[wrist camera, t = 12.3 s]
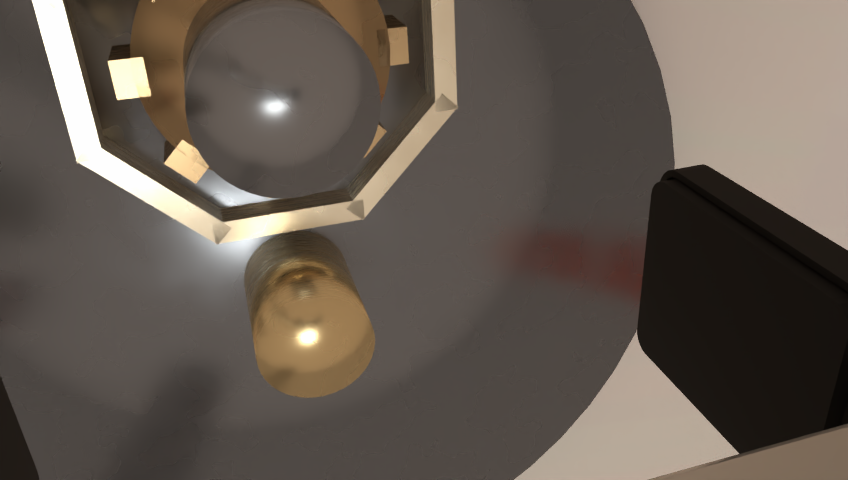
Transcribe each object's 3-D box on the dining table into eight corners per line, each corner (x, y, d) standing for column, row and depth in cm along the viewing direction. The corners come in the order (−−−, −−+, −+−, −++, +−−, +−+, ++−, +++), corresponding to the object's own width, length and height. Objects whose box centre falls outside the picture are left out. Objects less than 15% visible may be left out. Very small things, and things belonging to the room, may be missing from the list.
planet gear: (79, -91, 23) (47, -66, 17) (383, -113, 25) (450, -98, 19) (147, 193, 27) (140, 293, 21) (401, 155, 29) (460, 236, 23)
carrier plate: (-427, -181, 20) (-654, -189, 15) (696, -230, 27) (829, -247, 22) (-21, 636, 36) (-57, 782, 30) (627, 465, 43) (694, 558, 37)
